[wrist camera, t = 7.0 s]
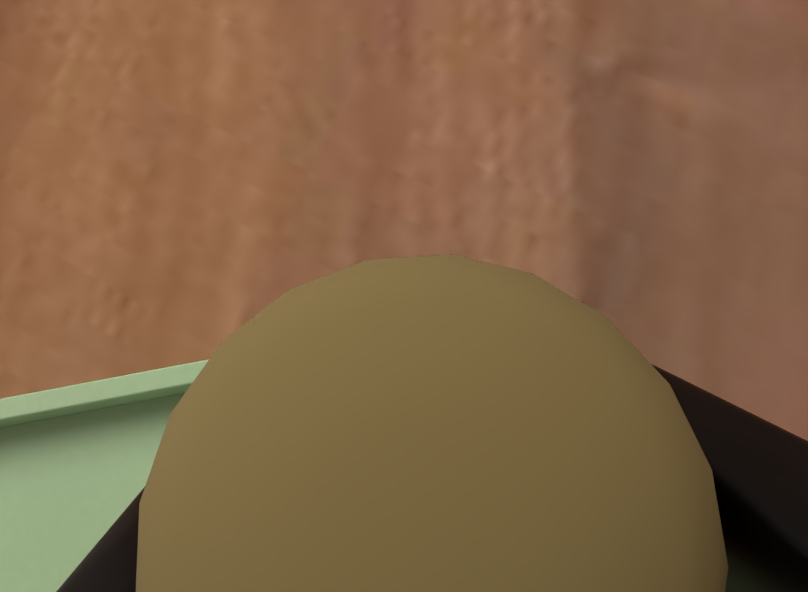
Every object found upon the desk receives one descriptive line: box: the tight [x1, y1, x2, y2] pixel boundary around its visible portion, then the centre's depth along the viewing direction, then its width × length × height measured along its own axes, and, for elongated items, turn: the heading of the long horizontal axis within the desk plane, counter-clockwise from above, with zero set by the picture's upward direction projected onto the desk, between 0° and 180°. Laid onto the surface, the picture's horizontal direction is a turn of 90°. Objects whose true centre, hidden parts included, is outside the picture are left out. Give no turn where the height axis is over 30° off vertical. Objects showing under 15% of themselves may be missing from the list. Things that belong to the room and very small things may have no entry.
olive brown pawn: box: [136, 254, 728, 592], centre depth 10 cm, size 6×6×11 cm
